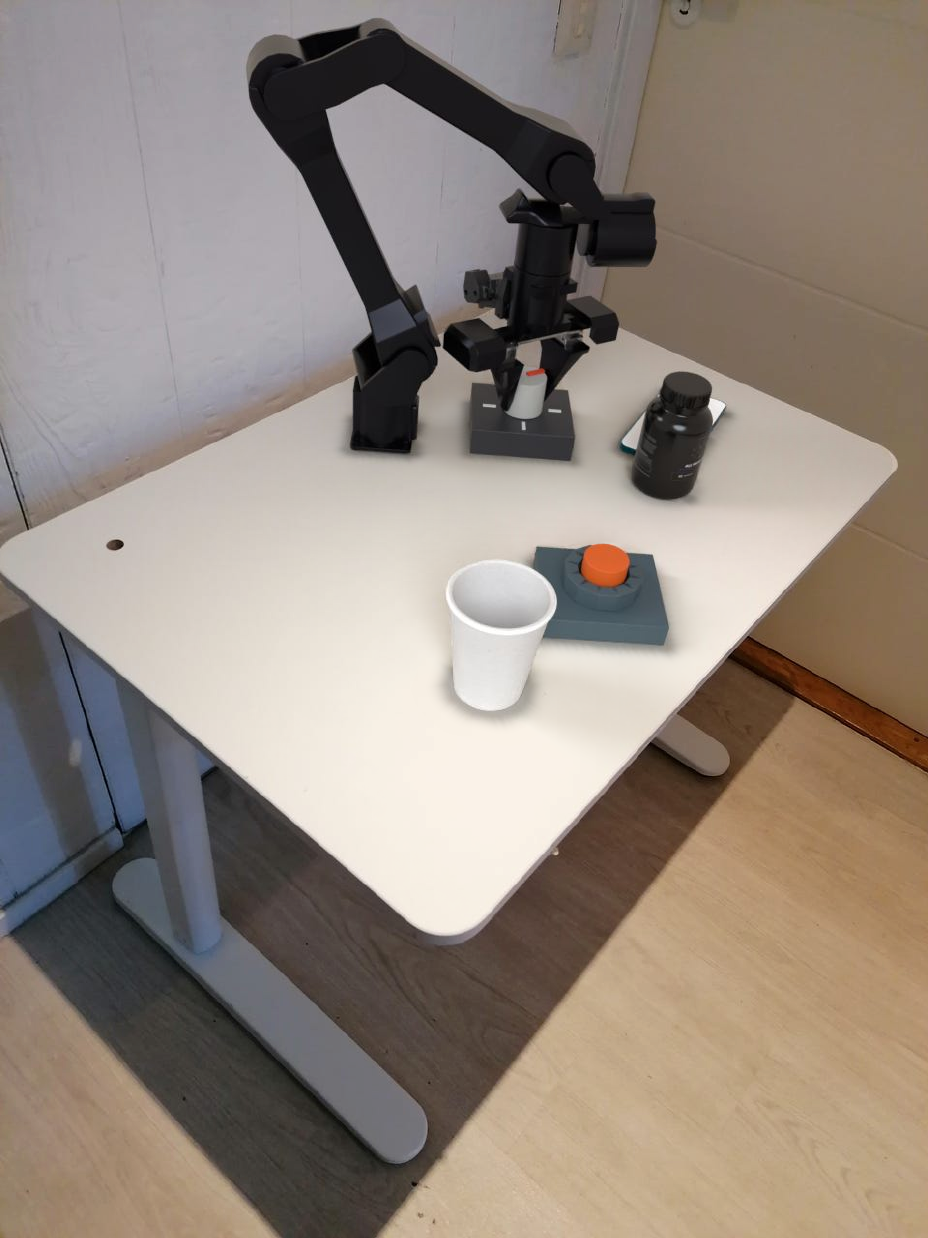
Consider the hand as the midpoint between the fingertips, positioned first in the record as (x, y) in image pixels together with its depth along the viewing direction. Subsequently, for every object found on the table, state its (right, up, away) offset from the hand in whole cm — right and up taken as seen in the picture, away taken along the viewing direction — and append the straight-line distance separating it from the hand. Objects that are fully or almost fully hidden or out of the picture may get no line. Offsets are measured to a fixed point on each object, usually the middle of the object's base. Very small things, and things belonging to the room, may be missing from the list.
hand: (522, 404), depth 106 cm
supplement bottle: (+15, -9, -3) cm, 17 cm away
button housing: (+6, -22, -18) cm, 29 cm away
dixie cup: (-4, -29, -26) cm, 39 cm away
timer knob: (0, 0, 0) cm, 0 cm away
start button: (+6, -19, -20) cm, 29 cm away
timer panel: (0, -3, +2) cm, 4 cm away
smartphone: (+18, -2, +6) cm, 19 cm away
